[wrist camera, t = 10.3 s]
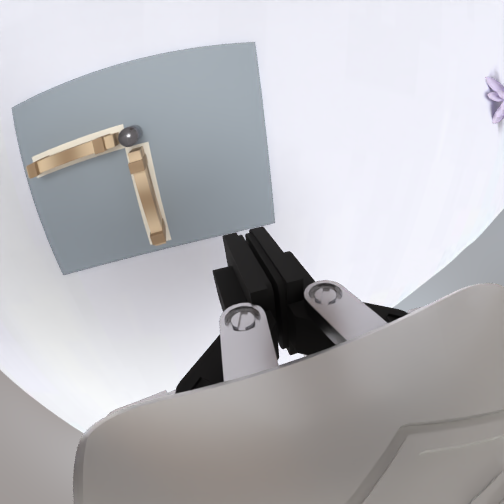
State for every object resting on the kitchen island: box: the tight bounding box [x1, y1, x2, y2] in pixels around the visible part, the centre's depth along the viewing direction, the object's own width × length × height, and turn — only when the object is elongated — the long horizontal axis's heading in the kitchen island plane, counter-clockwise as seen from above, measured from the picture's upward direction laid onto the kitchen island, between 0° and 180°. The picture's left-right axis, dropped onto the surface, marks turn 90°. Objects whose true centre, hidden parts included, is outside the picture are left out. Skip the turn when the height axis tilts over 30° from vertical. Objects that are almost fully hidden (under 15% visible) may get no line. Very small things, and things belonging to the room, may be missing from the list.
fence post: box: [118, 125, 143, 147], centre depth 24 cm, size 2×2×6 cm
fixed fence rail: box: [26, 132, 120, 179], centre depth 23 cm, size 10×1×4 cm, turn 99°
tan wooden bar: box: [128, 146, 166, 246], centre depth 28 cm, size 10×1×4 cm, turn 11°
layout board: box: [12, 42, 275, 275], centre depth 28 cm, size 28×22×1 cm
